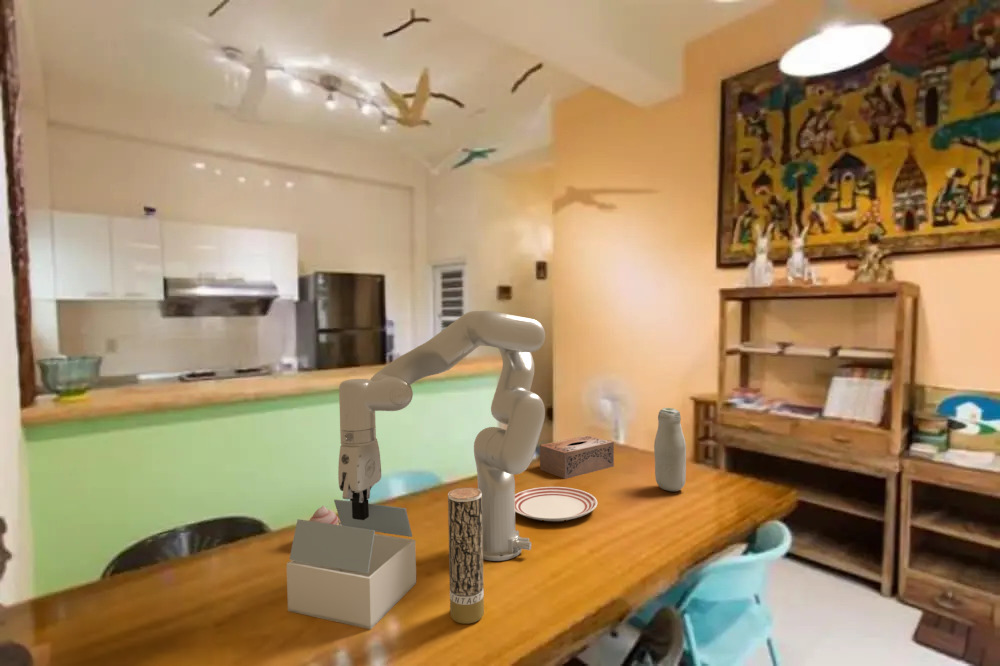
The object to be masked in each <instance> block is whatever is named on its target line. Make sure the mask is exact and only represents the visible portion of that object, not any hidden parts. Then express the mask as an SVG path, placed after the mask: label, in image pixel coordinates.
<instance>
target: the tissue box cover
mask: <svg viewBox="0 0 1000 666" xmlns="http://www.w3.org/2000/svg"><path fill="white" fill-rule="evenodd" d="M614 444H615V443H614V441H611V440H608V439H603V438H600V437H597V436H592V435H588V434H587V435H583V436H578V437H573V438H568V439H563V440H558V441H553V442H548V443H544V444H540V445H539V467H540V468H539V470H540V471H543V472H545V473H547V474H551V475H554V476H556V477H558V478H562V479H564V480H567V479H571V478H575V477H579V476H582V475H586V474H590V473H594V472H598V471H601V470H605V469H608V468H613V467H614V465H615V452H614V451H615V450H614V446H615V445H614Z"/></svg>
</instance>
